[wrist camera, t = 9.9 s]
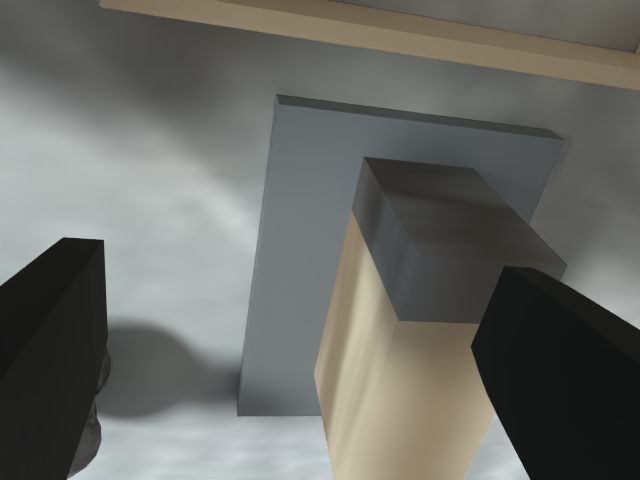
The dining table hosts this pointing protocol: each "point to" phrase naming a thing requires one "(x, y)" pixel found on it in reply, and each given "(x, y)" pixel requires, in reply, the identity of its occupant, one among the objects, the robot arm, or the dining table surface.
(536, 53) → the wooden tray
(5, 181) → the dining table surface
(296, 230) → the slate board
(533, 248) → the capped box
